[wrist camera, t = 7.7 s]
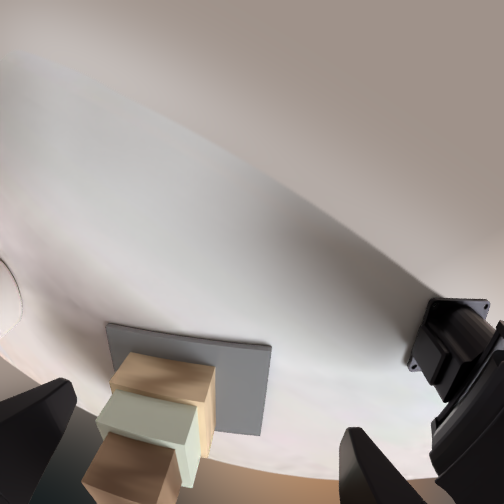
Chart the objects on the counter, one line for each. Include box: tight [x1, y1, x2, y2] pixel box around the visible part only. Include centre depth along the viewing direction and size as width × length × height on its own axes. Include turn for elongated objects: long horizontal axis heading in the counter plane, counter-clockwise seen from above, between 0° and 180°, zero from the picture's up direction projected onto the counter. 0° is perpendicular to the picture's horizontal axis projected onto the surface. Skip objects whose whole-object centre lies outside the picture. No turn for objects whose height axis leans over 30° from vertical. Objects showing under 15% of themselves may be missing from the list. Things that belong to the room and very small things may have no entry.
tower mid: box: [96, 389, 201, 488], centre depth 17 cm, size 6×6×4 cm
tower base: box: [109, 352, 216, 458], centre depth 21 cm, size 7×7×4 cm
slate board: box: [106, 323, 272, 436], centre depth 23 cm, size 13×10×1 cm
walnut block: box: [81, 432, 182, 504], centre depth 13 cm, size 4×4×4 cm
